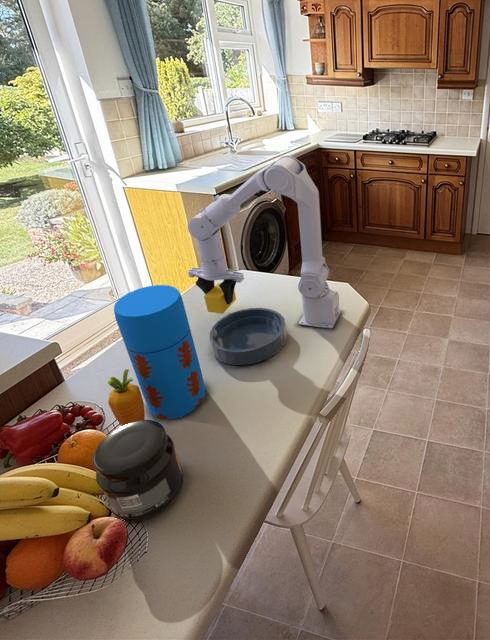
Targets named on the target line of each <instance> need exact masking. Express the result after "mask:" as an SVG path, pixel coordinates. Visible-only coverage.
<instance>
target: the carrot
mask: <svg viewBox="0 0 490 640" xmlns="http://www.w3.org/2000/svg"><path fill="white" fill-rule="evenodd" d="M129 371H130V370H129V368H126V369H124V370H123V375H122V381H120V379H118V378H117V377H115V376H113V375H112V376H110V377H109V378H108V381H107V384H108V385H109V386H110V387H111V388H113V389H112V390H111V391H110V392H109V394H108V400H107V403H108V406H109V409H110V411H111V412H112V414H113V417H114V418H115V420H116V421H117V422H118V424H119V425H120V426H124V425H126V424H128V423H131V422H134V421H139V420H146V419H145V418H146V415H145V403H144V399H143V396H142V395H143V394H142V391H141V388H140V386H139V385H136V384H133V383H131V382H132V381H134V378H132V377H131V378H128V374H129Z"/></svg>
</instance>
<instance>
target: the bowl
mask: <svg viewBox="0 0 490 640" xmlns="http://www.w3.org/2000/svg"><path fill="white" fill-rule="evenodd" d="M287 334H288V333H287V326H286V321H285V318H284V316H283V315H282V314H281V313H279V311H276V310H273V309H270V308H265V307H250V308H243V309H240V310H237V311H234V312H231V313H229V314H227V315H225V316H223V317H221V318H220V319H219V320H218V321H217V322H216V323H215V324H214V325H213V326H212V327H211V329H210V331H209V343H210V348H211V352H212V353H213V355H214V358H216V359H217V360H219V361H220V362H222V363H225V364H227V365H235V366H245V365H246V366H247V365H252V364H256V363H259V362H262V361H264V360H267V359H269V358H271V357H272V356H274V355H276V354H277V353H278V352H279V351H280V350H281V349H282V348H283V346H284V345H285V343H286V341H287V337H288V335H287Z"/></svg>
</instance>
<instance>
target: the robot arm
mask: <svg viewBox="0 0 490 640" xmlns="http://www.w3.org/2000/svg"><path fill="white" fill-rule="evenodd" d="M259 191H263V192H269V191H273V192H274V193H277V194H280V195H282V196H285V197H287V198H289V199H291V200H293V201H294V202H295V203H296V204H297V211H298V212H297V213H298V225H299V237H300V248H301V261H302V263H301V267H300V268H301V269H300V279H299V281H298V284H297V289H298V291H299V294H300V295H301V300H302V301H301V302H302V312H303V315H302V316H301V318H300V320H299V322H298V325H299V326H308V327H316V328H324V329H333V328H334V326H335V324H336V322H337V320H338V319H339V316H340V314H341V310H340V295H339V292H338V291H335V290H332V289H330V287H329V284H328V282H327V280H328V278H329V276H330V268H329V267H328V265H327V263H326V257H324V256H323V244H322V243H323V242H322V226H321V225H322V224H321V209H320V208H321V207H320V192H319V189H318V187H317V186H316V185H315V182H314V181H313V180H312V178H311V176H310V175H309V173H308V171H307V168H306V165H305V164H304V163H303V162H301V161H300V160H298V159H297V158H296V157H294V156H292V155H282V156H281V157H280V158H278V159H277V161H273V162H271V163H270V164H268V165H266V166H265V167H263V168H262V169H260V170H258V171H257V172H255V173H254V174H253V175H252V176H250V178H248V179H247V180H246V181H245V182H244V183H243V184H241V185H240V186H239V187H238V188H237V189H236V190H235V191H233V193H231V194H228V193H224V194H221V195H219V194H216V195H215V196H214V197H213V198H212V199H211V200H212V202H211V203H210V204H209V205H207V206H204V207H202V208H201V209H200V210H199V213H198V214H197V215H195V216H194V217H192V218H190V220H189V222H188V224H187V231H188V232H189V234H190V236H192V237H193V238H194V240H195V243H196V249H197V252H198V253H197V254H198V257H199V260H200V261H199V262H200V266H201V267H191V268H190V269H189V270H188V271H187V274H188V277H189V278H190V279H191V278H192V279H194V278H197V280H196V281H195V286H197V287H198V288H199V289H200V290H201V291H202V292H203V294H204V296H205V295H206V294H207V293H208V292H209V291H211V290H212V289H213V288H214V287H215V286H216V285H215V281H221V280H222V282H220V283H221V284H220V285H219V287H220V288H221V289H222V291H223V294H224V297H225V301H226V303H227V304H230V303H231V302H232V301H233V293H234V291H235V288H236V285H237V283H239V284H240V283H242V282H243V281H244V280H245V277H244V273H243V272H240V271H235V270H232V269H231V268H228V266H227V264H226V258H225V254H224V248H223V244H222V243H223V242H222V238H221V233H220V232H221V231H220V230H221V228H222V227H224V225H226V224H227V223H229V222H230V221H231V220H233V218H235V217H236V216H237V215H239V214H240V212H241V205H242V204H243V203H244V202H246V201H247V200H249V199H250V198H252V197H253V196H254V195H256V194H257V193H258V192H259Z"/></svg>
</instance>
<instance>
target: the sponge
mask: <svg viewBox="0 0 490 640" xmlns="http://www.w3.org/2000/svg"><path fill="white" fill-rule="evenodd" d="M221 283H222V282H218V283H217V284H215V285H214V286H215V287H214V288H213V289H212V290H211V291H209V292H208V293H207V294H206V295H205V294H204V296H203V297H204V301H205V302H204V303H205V306H206V310H207V313H215V314H222V315H223V314H224V313H226V311H227V310H228V309H230V307H231V305H233V304H234V303H235V301H236V300H237V297H236V291H235V290H234V293H233V301H232V302H231V303H230V304H227V303H226V301H225V297H224V294H223V291H222V289H221V288H220V287H219V285H220V284H221Z"/></svg>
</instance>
